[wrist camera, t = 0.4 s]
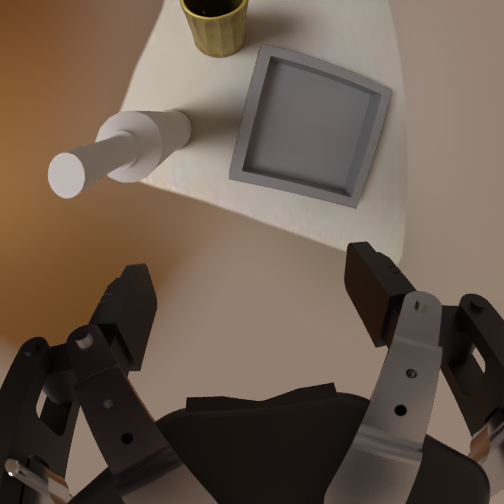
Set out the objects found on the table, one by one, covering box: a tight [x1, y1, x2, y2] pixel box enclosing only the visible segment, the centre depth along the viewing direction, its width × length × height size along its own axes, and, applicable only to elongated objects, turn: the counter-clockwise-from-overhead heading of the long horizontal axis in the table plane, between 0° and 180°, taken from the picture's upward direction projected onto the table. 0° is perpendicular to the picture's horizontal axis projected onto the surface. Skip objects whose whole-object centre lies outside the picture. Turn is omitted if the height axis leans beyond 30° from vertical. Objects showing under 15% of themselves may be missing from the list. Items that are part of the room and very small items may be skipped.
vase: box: [180, 0, 249, 57], centre depth 21 cm, size 6×6×14 cm
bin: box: [229, 44, 392, 209], centre depth 31 cm, size 16×16×4 cm
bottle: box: [48, 110, 191, 198], centre depth 21 cm, size 5×5×25 cm
